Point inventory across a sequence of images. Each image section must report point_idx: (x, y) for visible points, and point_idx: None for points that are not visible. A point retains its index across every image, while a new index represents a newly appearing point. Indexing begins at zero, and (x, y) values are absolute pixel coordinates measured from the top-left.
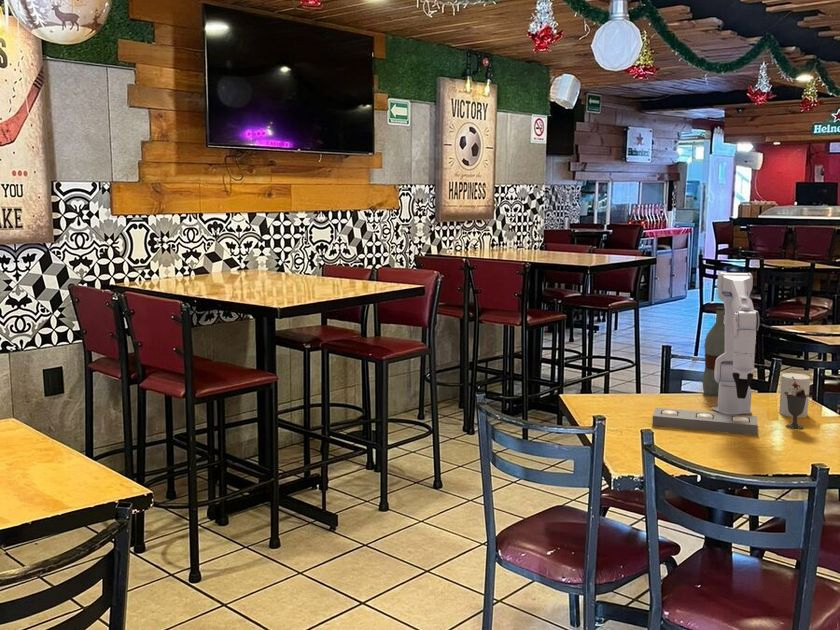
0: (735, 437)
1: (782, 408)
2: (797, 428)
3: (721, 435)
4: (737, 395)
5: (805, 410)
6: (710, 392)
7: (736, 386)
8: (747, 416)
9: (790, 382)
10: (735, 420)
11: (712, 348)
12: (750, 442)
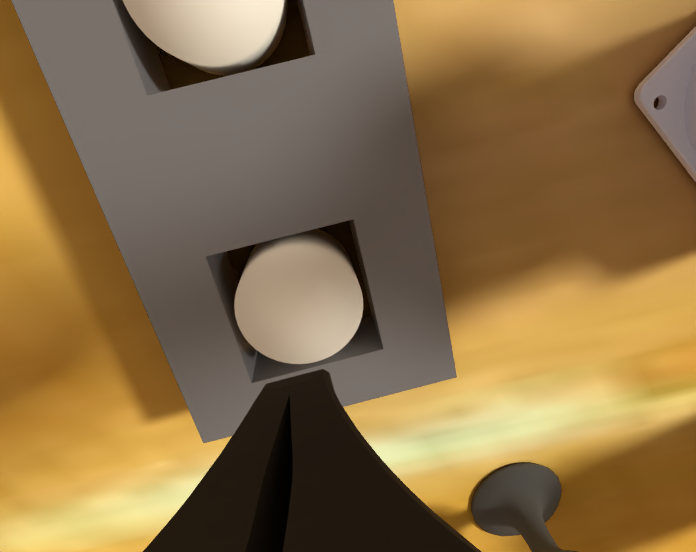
0: (72, 302)
1: None
2: (481, 522)
3: (45, 207)
4: (253, 404)
5: None
6: None
7: (165, 530)
8: (420, 325)
9: None
10: (240, 279)
11: None
12: (30, 404)
